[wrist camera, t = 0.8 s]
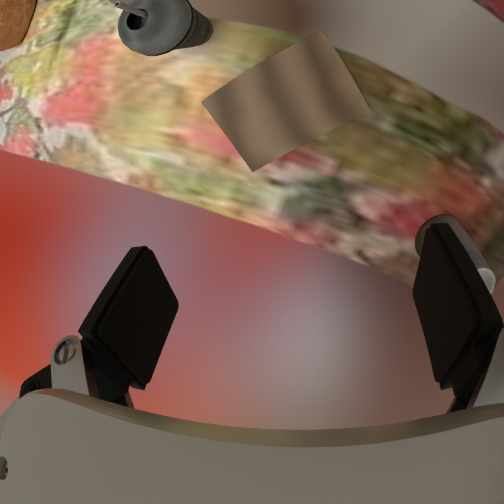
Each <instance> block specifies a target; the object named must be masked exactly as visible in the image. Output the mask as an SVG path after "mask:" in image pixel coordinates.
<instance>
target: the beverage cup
mask: <svg viewBox="0 0 504 504" xmlns="http://www.w3.org/2000/svg"><path fill="white" fill-rule="evenodd" d="M114 7H117V8H120V9H123V11H122V13H121V16H120V18H119V22H118V32H119V36H120V38H121V40H122V42H123V43H124V44H125V45H126V46H127V47H128V48H130V49H131V50H132V51H135V52H138V53H141V54H144V55H146V56H159V55H162V54H165V53H168V52H170V51H172V50H175V49H181V48H188V47H194V46H198V45H202V44H203V43H205V42H206V41H207V40H209V38H210V37H211V35H212V31H213V28H212V24H211V23H210V21H209V20H208V19H207V18H206V17H205V16H203V15H202V14H201V13H199V12H198V11H197V10H195V9H194V8H193V7H192V6H191V4H190V3H189V1H188V0H133V1H131V2H130V3H129V4H128V5H127V4H124V3H122V2H119V1H117V2H115V4H114Z"/></svg>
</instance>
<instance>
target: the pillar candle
mask: <svg viewBox="0 0 504 504" xmlns="http://www.w3.org/2000/svg"><path fill="white" fill-rule="evenodd" d="M432 223H448V224H449V225H450V226H451V228H452V229H453V231H454V232H455V234H456V235H457V237H458V238H459V240H460V242H461V243H462V245H463V246H464V248H465V249H466V251H467V253H468V254H469V256H470V258H471V259H472V261H473V263H474V265H475V266H476V268H477V270H478V272H479V273H480V275H481V277H482V279H483V281H484V283H485V284H486V286H487V288H488V290H489V292H490V294H491V293H492V291H493V289H494V284H495V276H494V274H493V272H492V270H491V269H490V267H489V266H488V264H487V262H486V261H485V259H484V258H483V256H482V255H481V253H480V252H479V250H478V249H477V247H476V246H475V244H474V243H473V241H472V240H471V238H470V237H469V235H468V234H467V233H466V231H465V230H464V229H463V227H462V226H461V225H460V223H459V222H458V221H457V220H456V219H455V218H454V217H452V216H450V215H439V216H436V217H434V218H432V219H430V220H428V221H427V222H426V223H425V224H424V225H423V226H422V228H421V229H420V230H419V232H418V233H417V236H416V240H415V248H416V251H417V253H418V255H419V256H421V251H422V246H423V240H424V235H425V230H426V229H427V228H430V225H431V224H432Z"/></svg>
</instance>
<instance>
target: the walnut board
mask: <svg viewBox="0 0 504 504" xmlns="http://www.w3.org/2000/svg"><path fill="white" fill-rule="evenodd" d="M201 103H202V104H203V105H204V106H205V108H206V109H207V110H208V112H209V113H210V114H211V116H212V117H213V118H214V120H215V121H216V122H217V124H218V125H219V126H220V128H221V129H222V130H223V132H224V133H225V134H226V136H227V137H228V139H229V140H230V141H231V143H232V144H233V145H234V147H235V148H236V150H237V151H238V152H239V154H240V155H241V156H242V158H243V159H244V161H245V162H246V163H247V165H248V166H249V168H250V169H251V170H252V172H254V171H255V170H257V169H259V168H261V167H263V166H264V165H266V164H268V163H270V162H272V161H274V160H275V159H277V158H279V157H281V156H283V155H285V154H287V153H289V152H290V151H292V150H294V149H296V148H298V147H300V146H302V145H304V144H306V143H308V142H310V141H312V140H314V139H316V138H318V137H320V136H322V135H324V134H326V133H328V132H330V131H332V130H334V129H336V128H338V127H340V126H342V125H344V124H346V123H349V122H351V121H353V120H355V119H357V118H359V117H361V116H364V115H366V114H368V113H370V112H371V111H370V109H369V107H368V105H367V103H366V101H365V99H364V97H363V96H362V94H361V92H360V90H359V88H358V86H357V85H356V83H355V81H354V79H353V78H352V76H351V74H350V72H349V71H348V69H347V67H346V66H345V64H344V62H343V61H342V59H341V58H340V56H339V54H338V53H337V51H336V50H335V48H334V47H333V45H332V44H331V42H330V41H329V39H328V38H327V36H326V35H325V33H324V32H323V31H321V32H319V33H316V34H314V35H312V36H310V37H308V38H306V39H304V40H302V41H300V42H298V43H296V44H294V45H292V46H290V47H288V48H286V49H284V50H283V51H281V52H279V53H277V54H275V55H273V56H272V57H270V58H268V59H266V60H265V61H263V62H261V63H260V64H258V65H256V66H254V67H253V68H251V69H250V70H248V71H246V72H245V73H243V74H241V75H240V76H238V77H237V78H235V79H234V80H232V81H231V82H229V83H228V84H226V85H225V86H223V87H222V88H220V89H219V90H217V91H216V92H214V93H213V94H211V95H210V96H209V97H207V98H206V99H204V100H203V101H202V102H201Z"/></svg>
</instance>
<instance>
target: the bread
mask: <svg viewBox="0 0 504 504" xmlns="http://www.w3.org/2000/svg"><path fill="white" fill-rule="evenodd" d="M35 3H36V0H0V51H4V50H7V49H10V48H12V47H14V46H16V45H17V44H19V43H20V42H21V41H22V39H23V37H24V35H25V33H26V31H27V29H28V26H29V24H30V20H31V17H32V14H33V11H34V9H35Z"/></svg>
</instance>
